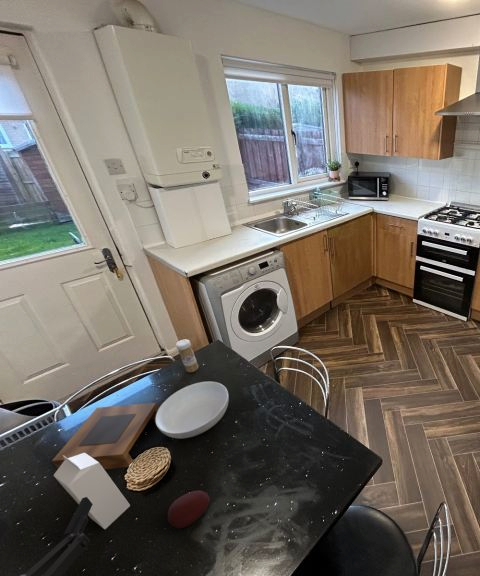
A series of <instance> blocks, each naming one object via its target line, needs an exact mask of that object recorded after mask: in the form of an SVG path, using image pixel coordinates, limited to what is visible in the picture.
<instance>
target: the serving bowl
mask: <svg viewBox="0 0 480 576" xmlns="http://www.w3.org/2000/svg"><path fill="white" fill-rule="evenodd" d="M229 399H230V397H229V391H228V389H227V387H226V386H225V385H223V384H222V383H220V382H217V381H200V382H196V383H193V384H190V385H187V386H185V387H183V388H181V389H179V390H177V391H176V392H174V393H173V394H171V395H170V396H168V398H166V399H165V400H164V402H162V404H161V405H160V406H159V407H158V408H159V409H158V411H157V414H156V418H155V419H154V422H155V425H156V427H157V428H158V430H159V431H160V432H161V434H164V435H165V436H167V437H169V438H172V439H189V438H193V437H196V436H199V435H201V434H203V433H205V432H206V431H207V432H208V431H209V430H210V429H212V428H213V427H214V426H215V425H217V423H219V422H220V421H221V419H222V418H223V417H224V415H225V413H226V411H227V409H228V406H229V402H230V401H229Z"/></svg>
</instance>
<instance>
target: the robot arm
mask: <svg viewBox="0 0 480 576" xmlns="http://www.w3.org/2000/svg"><path fill="white" fill-rule="evenodd" d="M92 505H93V504H92V503H91V501H90V500H89V499H88V498H87V497H85V498H82V500H81V502H80V504H78V506H77V508H76V510H75V511H74V514H73V515H72V517H71V519H70V521H69V523H68V525H67V527H66V529H65V530H64V532H63V536H64V539H62V540H61V541H60V542H59V543H58V544H57V545H55V546H54V547H53V548H52V549H51V550H50V551H49V552H47V554H45V555H44V556H43V557H42V558H41V559H40V560H39V561H37V562H36V563H35V564H34V565H33V566H32V567H30V569H28V571H26V572H25V573H24V574H21V575H20V576H64V575H65V573H66V572H67V571H68V570H69V569H70V568H71V566H72V565H74V563H75V562H76V560H78V558H79V557H80V556H81V554H83V552H84V551H85V550H86V548H88V546H90V544H91V539H90V538H89V537H88V536H87V535H86V534H85V533H84V532H85V530H86V527H87V525H88V523H89V517H88V513H89V511H90V509H91V507H92ZM9 528H10V524H9V523H7V522H6V521H5V520H4V519H3V518H0V541H1V540H2V538H3V537H4V535H5V534H6V532H7V531H8V529H9Z"/></svg>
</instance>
